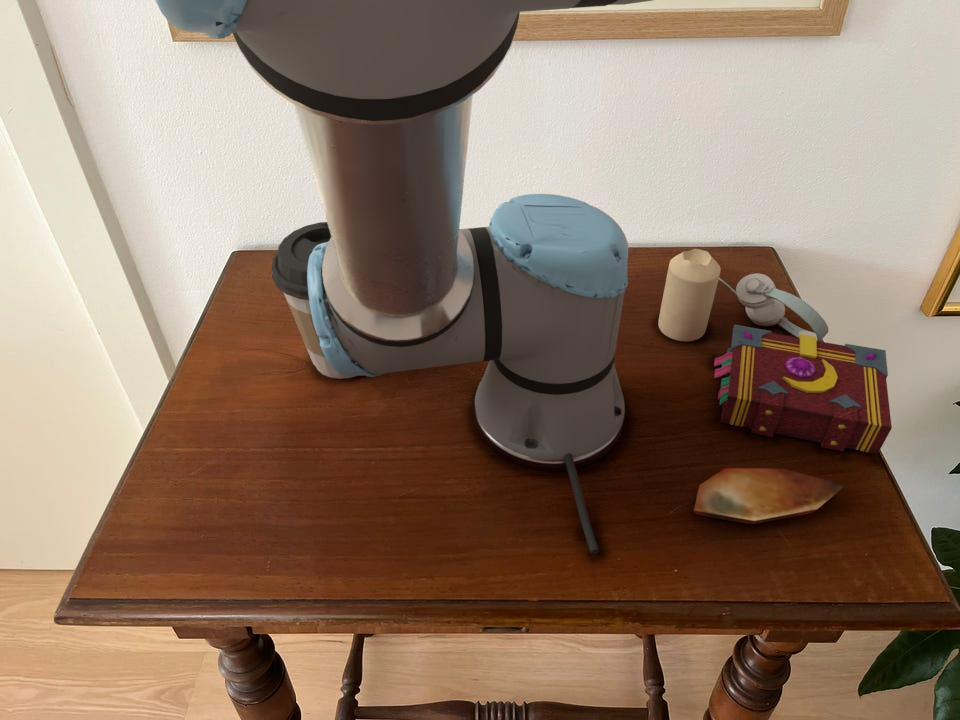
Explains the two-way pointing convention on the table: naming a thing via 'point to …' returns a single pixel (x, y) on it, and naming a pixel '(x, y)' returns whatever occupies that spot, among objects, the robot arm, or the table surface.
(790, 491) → the decorative stone
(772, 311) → the headphones
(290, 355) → the table surface
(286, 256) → the coffee cup
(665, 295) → the candle
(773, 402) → the decorative book
